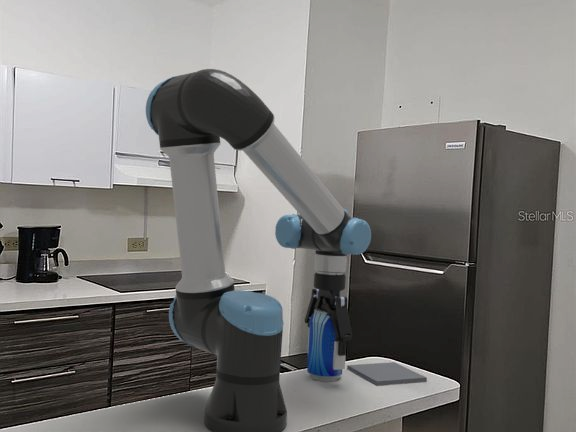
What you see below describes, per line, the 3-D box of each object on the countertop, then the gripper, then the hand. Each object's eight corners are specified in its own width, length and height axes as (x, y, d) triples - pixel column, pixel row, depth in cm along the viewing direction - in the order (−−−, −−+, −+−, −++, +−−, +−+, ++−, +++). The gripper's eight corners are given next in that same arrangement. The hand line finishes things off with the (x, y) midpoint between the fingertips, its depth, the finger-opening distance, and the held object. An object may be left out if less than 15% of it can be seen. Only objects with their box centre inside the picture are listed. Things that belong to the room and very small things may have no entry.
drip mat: (376, 385, 136) (377, 381, 136) (347, 369, 148) (347, 365, 148) (426, 381, 141) (426, 377, 141) (393, 366, 154) (394, 362, 154)
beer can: (329, 384, 134) (333, 315, 134) (299, 376, 139) (303, 309, 139) (348, 377, 141) (352, 311, 141) (319, 370, 146) (323, 306, 146)
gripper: (371, 279, 130) (365, 374, 130) (320, 266, 153) (316, 347, 153) (341, 279, 127) (336, 377, 127) (294, 266, 150) (290, 349, 150)
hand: (325, 361), depth 140 cm, fingers open, 13 cm apart
